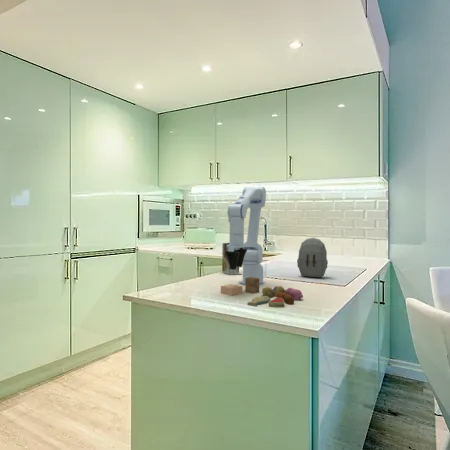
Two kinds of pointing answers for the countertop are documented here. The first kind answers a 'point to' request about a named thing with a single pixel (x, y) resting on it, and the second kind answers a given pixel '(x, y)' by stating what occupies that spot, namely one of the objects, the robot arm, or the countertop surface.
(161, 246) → the countertop surface
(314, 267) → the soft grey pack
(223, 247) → the coffee box
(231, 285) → the base block
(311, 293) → the countertop surface
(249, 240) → the robot arm
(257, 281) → the walnut block
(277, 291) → the toy food set
